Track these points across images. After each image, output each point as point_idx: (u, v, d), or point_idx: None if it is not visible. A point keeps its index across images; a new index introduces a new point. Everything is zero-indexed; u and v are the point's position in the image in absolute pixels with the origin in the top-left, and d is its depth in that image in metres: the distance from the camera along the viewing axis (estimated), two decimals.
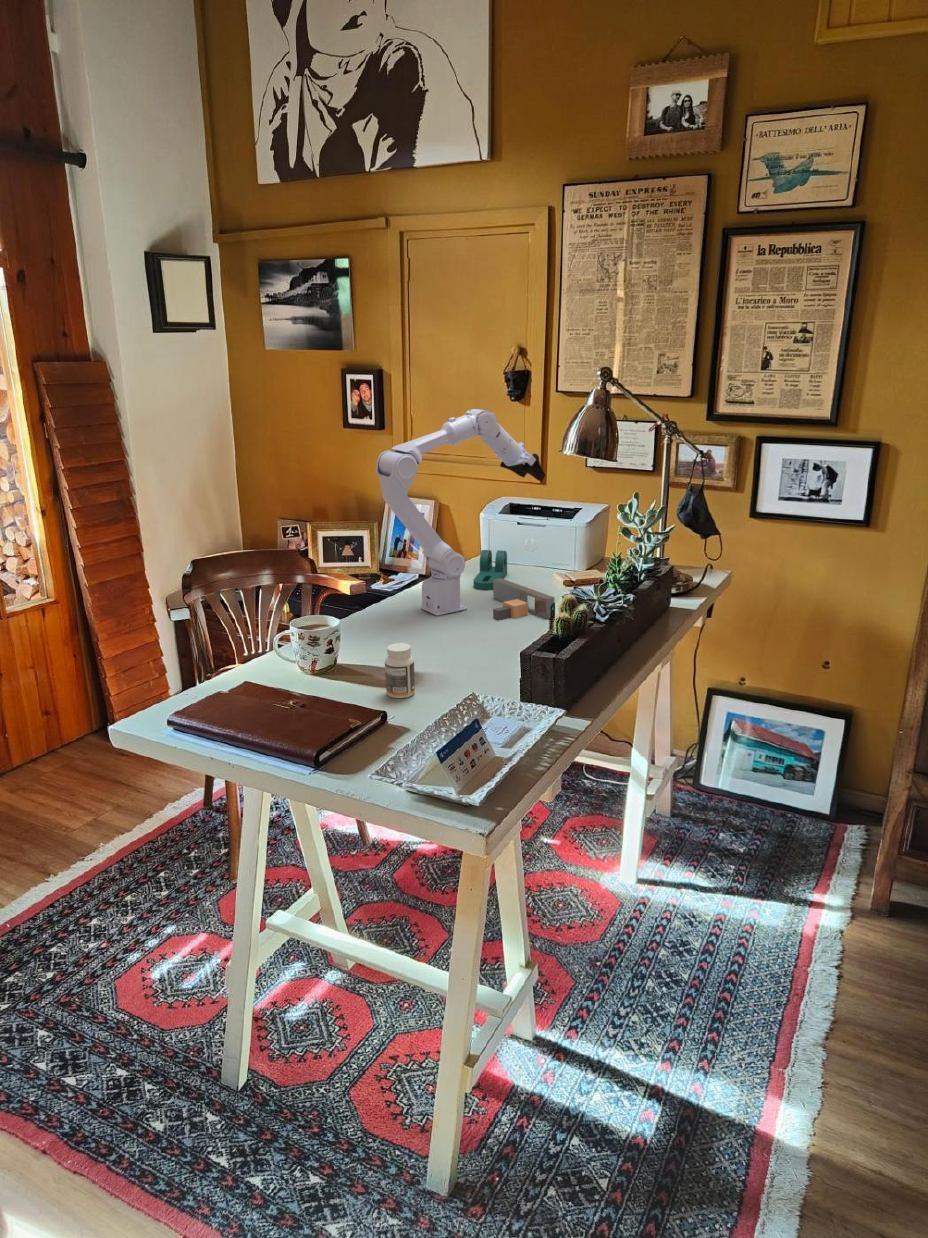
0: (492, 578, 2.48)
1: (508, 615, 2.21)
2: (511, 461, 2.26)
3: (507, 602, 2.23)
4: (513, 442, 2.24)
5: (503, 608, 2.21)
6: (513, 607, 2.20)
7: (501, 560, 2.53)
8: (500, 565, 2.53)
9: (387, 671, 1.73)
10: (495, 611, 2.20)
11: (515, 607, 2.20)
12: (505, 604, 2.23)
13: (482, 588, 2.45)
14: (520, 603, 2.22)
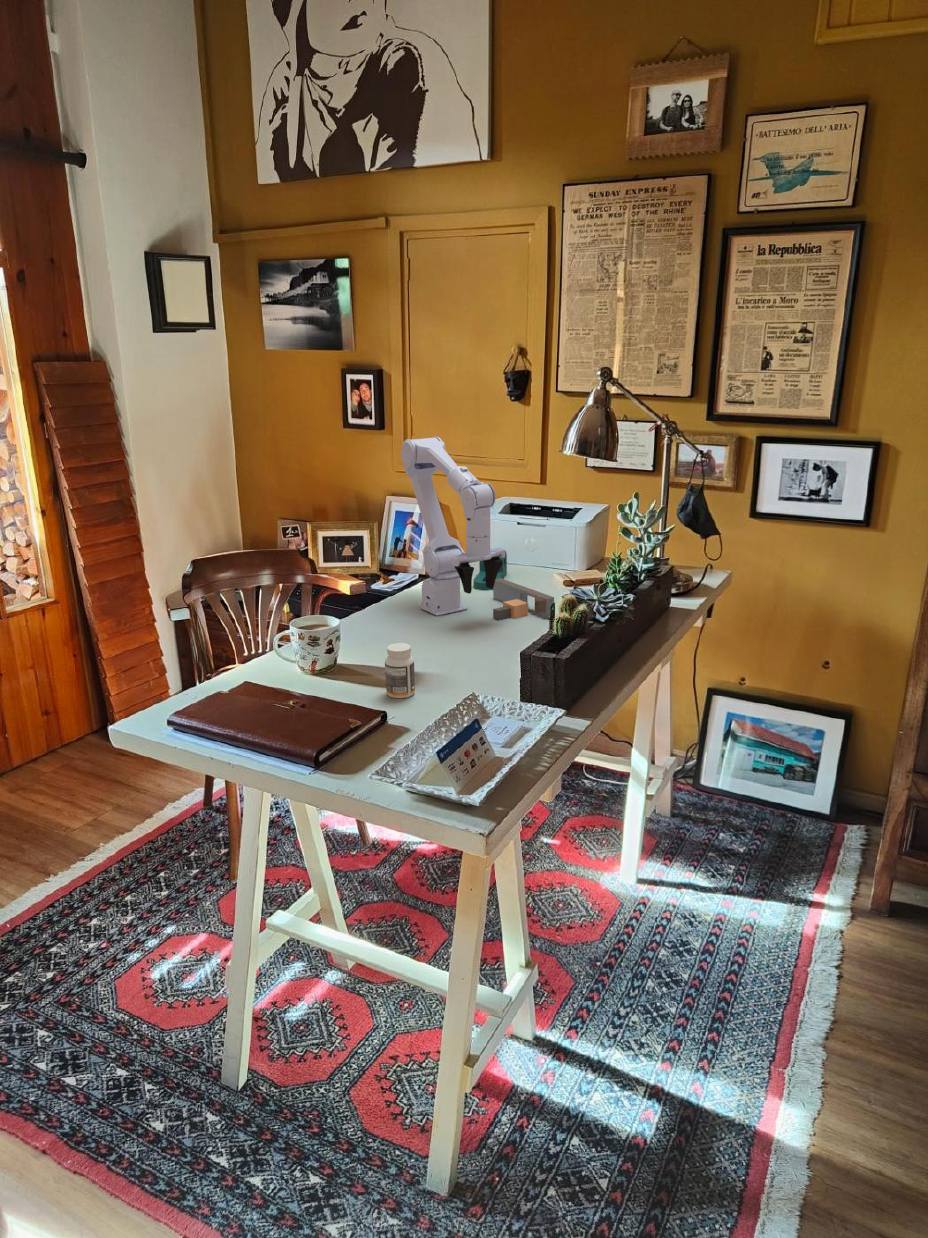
0: None
1: (508, 615, 2.21)
2: None
3: (507, 602, 2.23)
4: (474, 541, 2.09)
5: (503, 608, 2.21)
6: (513, 607, 2.20)
7: None
8: None
9: (387, 671, 1.73)
10: (495, 611, 2.20)
11: (515, 607, 2.20)
12: (505, 604, 2.23)
13: (482, 588, 2.45)
14: (520, 603, 2.22)
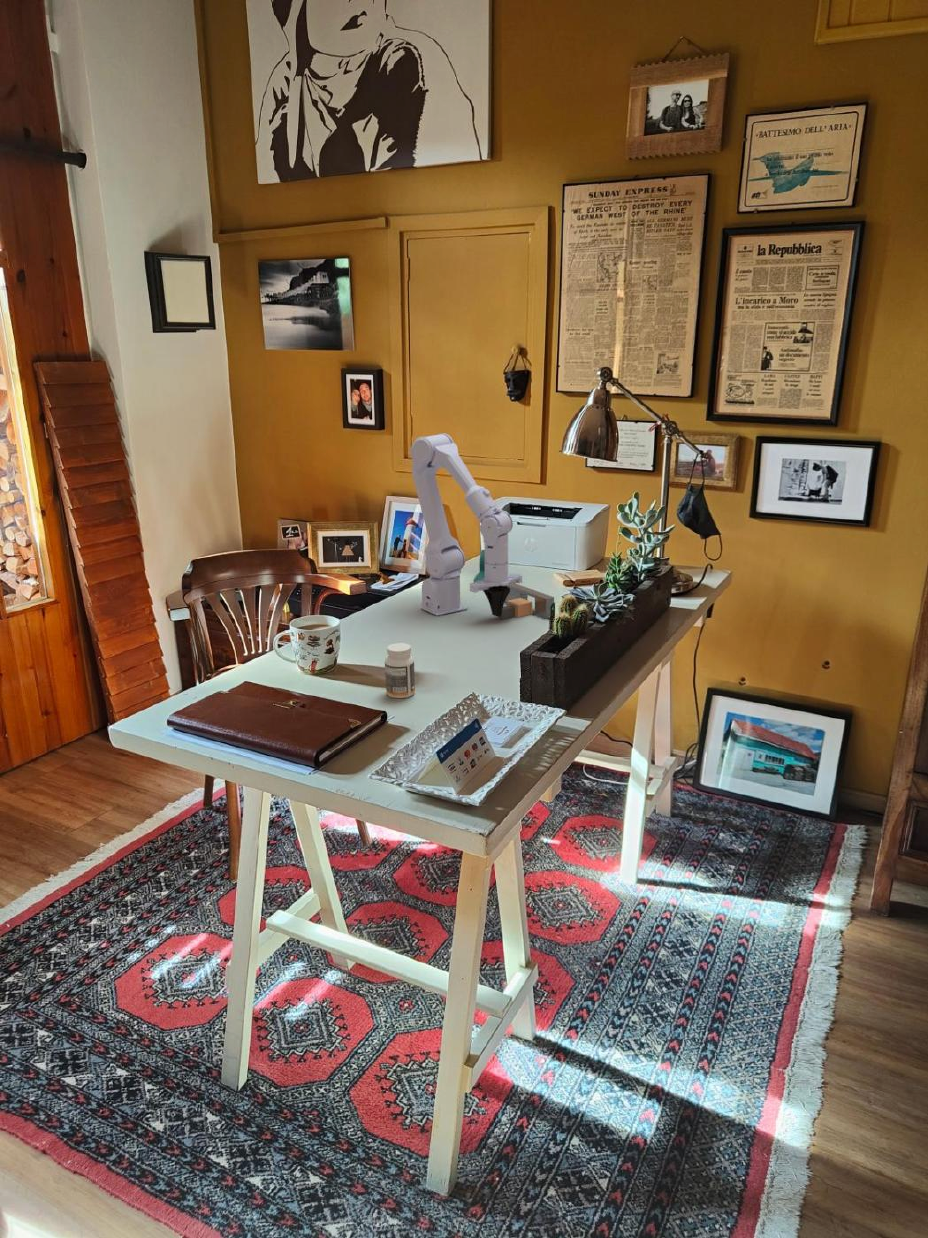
0: None
1: (512, 614, 2.22)
2: None
3: (511, 601, 2.23)
4: (492, 568, 2.14)
5: (507, 607, 2.22)
6: (517, 606, 2.21)
7: None
8: None
9: (387, 671, 1.73)
10: None
11: (519, 606, 2.21)
12: (509, 603, 2.23)
13: None
14: (524, 602, 2.23)
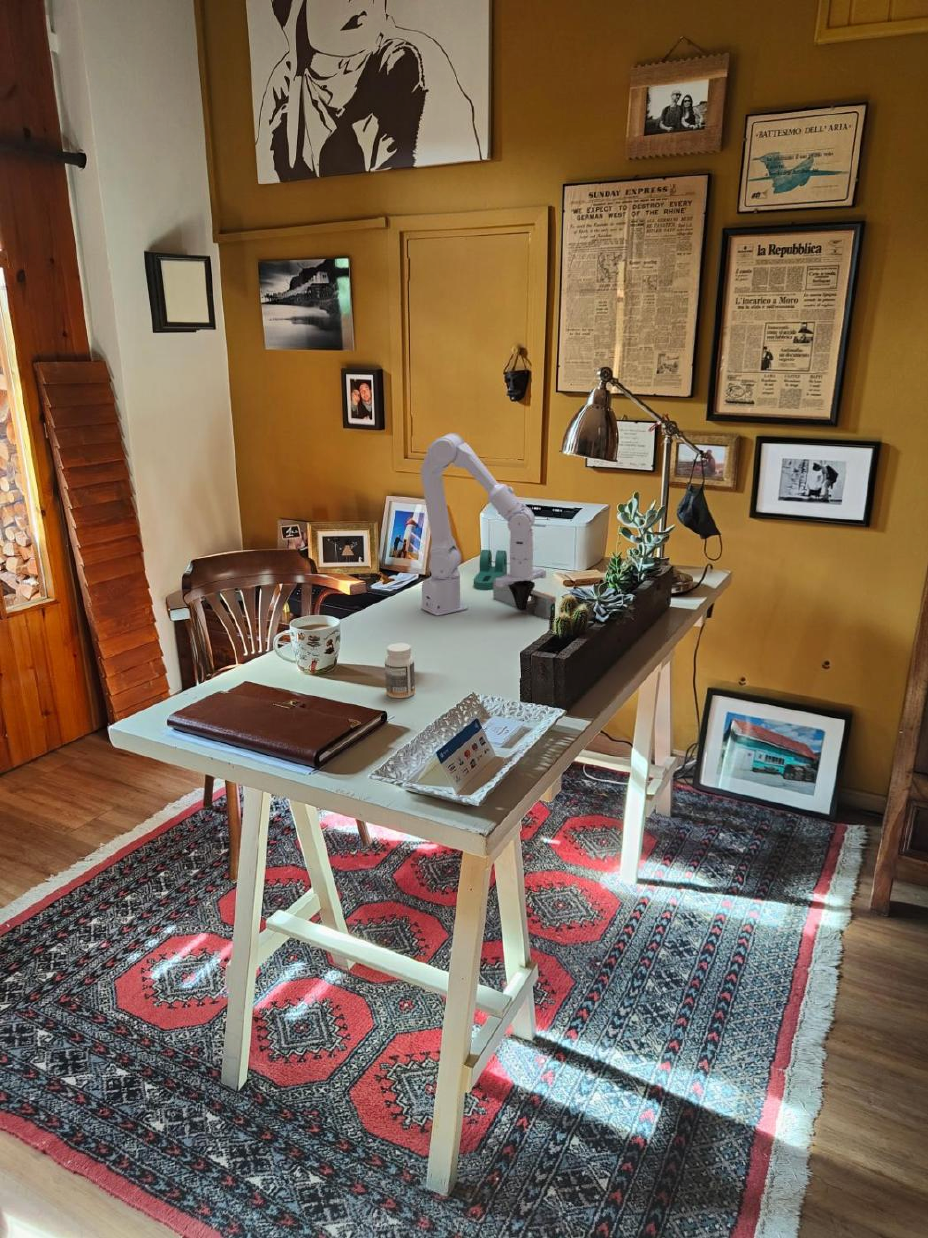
0: (492, 578, 2.49)
1: None
2: None
3: None
4: (517, 563, 2.18)
5: (531, 601, 2.26)
6: None
7: (501, 560, 2.53)
8: (500, 565, 2.53)
9: (387, 671, 1.73)
10: None
11: None
12: (533, 598, 2.27)
13: (482, 588, 2.45)
14: None
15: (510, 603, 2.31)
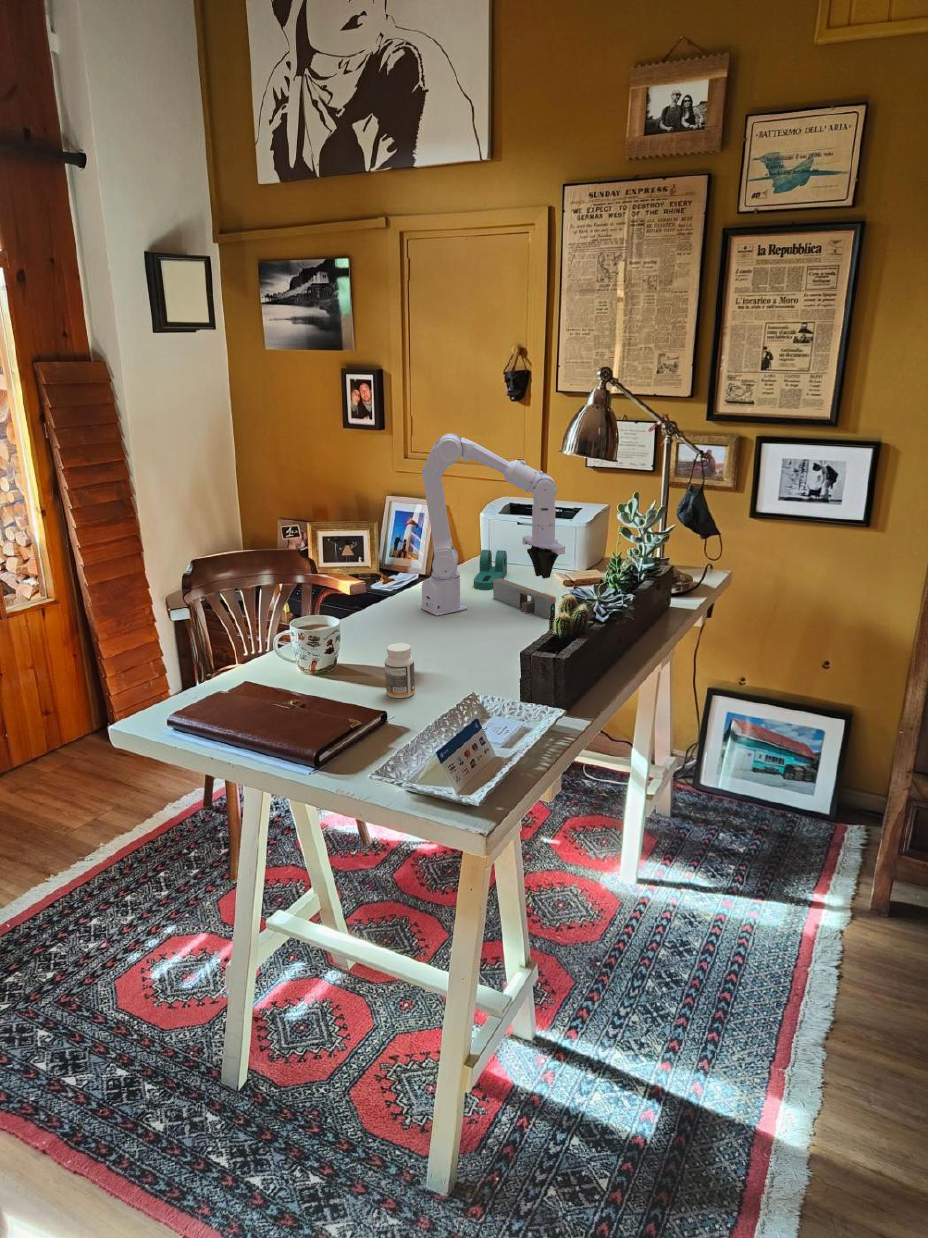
0: (492, 578, 2.49)
1: None
2: (541, 542, 2.20)
3: None
4: (554, 528, 2.21)
5: (531, 601, 2.26)
6: None
7: (501, 560, 2.53)
8: (500, 565, 2.53)
9: (387, 671, 1.73)
10: (524, 604, 2.25)
11: None
12: (533, 598, 2.28)
13: (482, 588, 2.45)
14: None
15: (510, 603, 2.31)
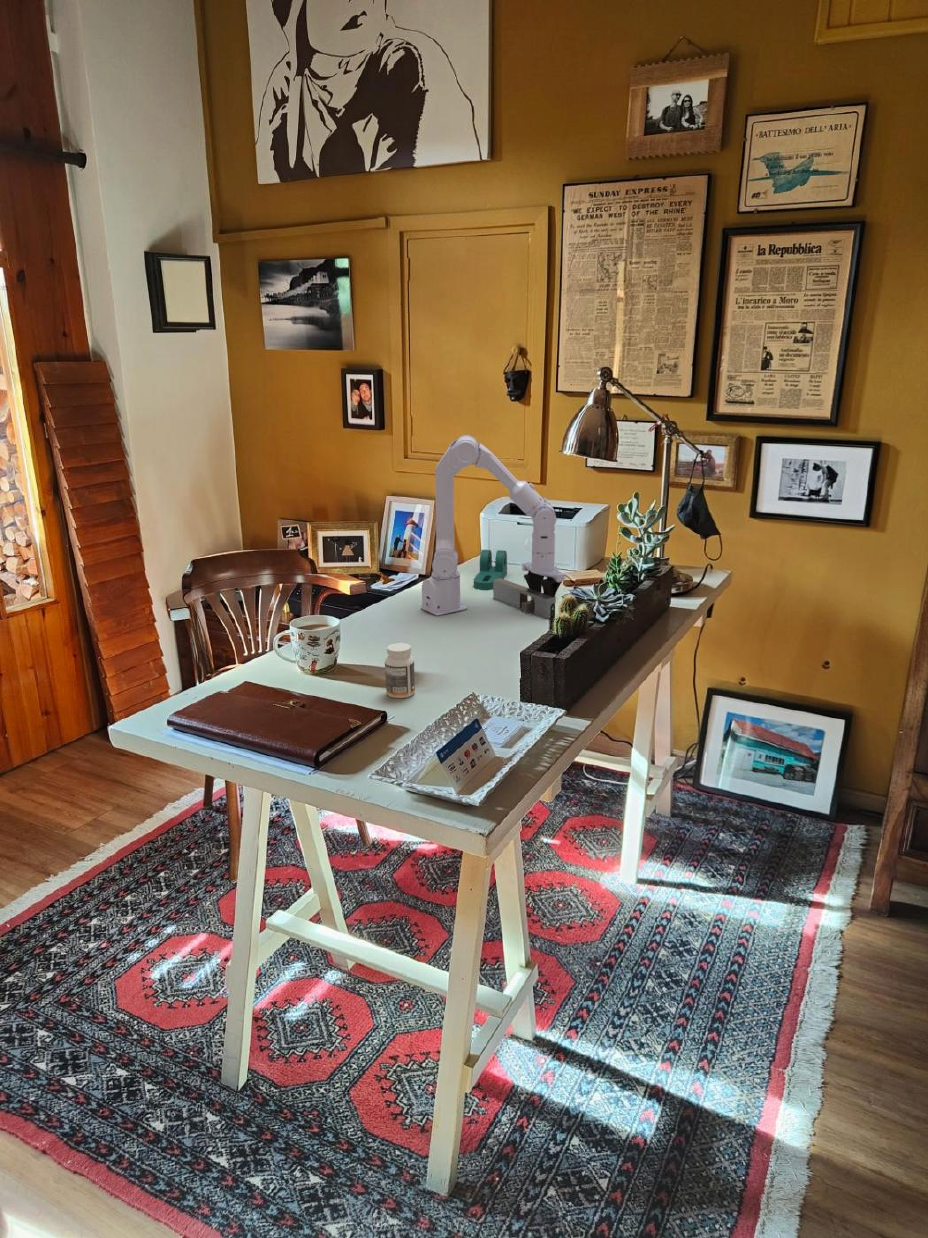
0: (492, 578, 2.49)
1: None
2: (541, 569, 2.22)
3: None
4: (553, 556, 2.23)
5: (531, 601, 2.26)
6: None
7: (501, 560, 2.53)
8: (500, 565, 2.53)
9: (387, 671, 1.73)
10: (524, 604, 2.25)
11: None
12: (533, 598, 2.27)
13: (482, 588, 2.45)
14: None
15: (510, 603, 2.31)
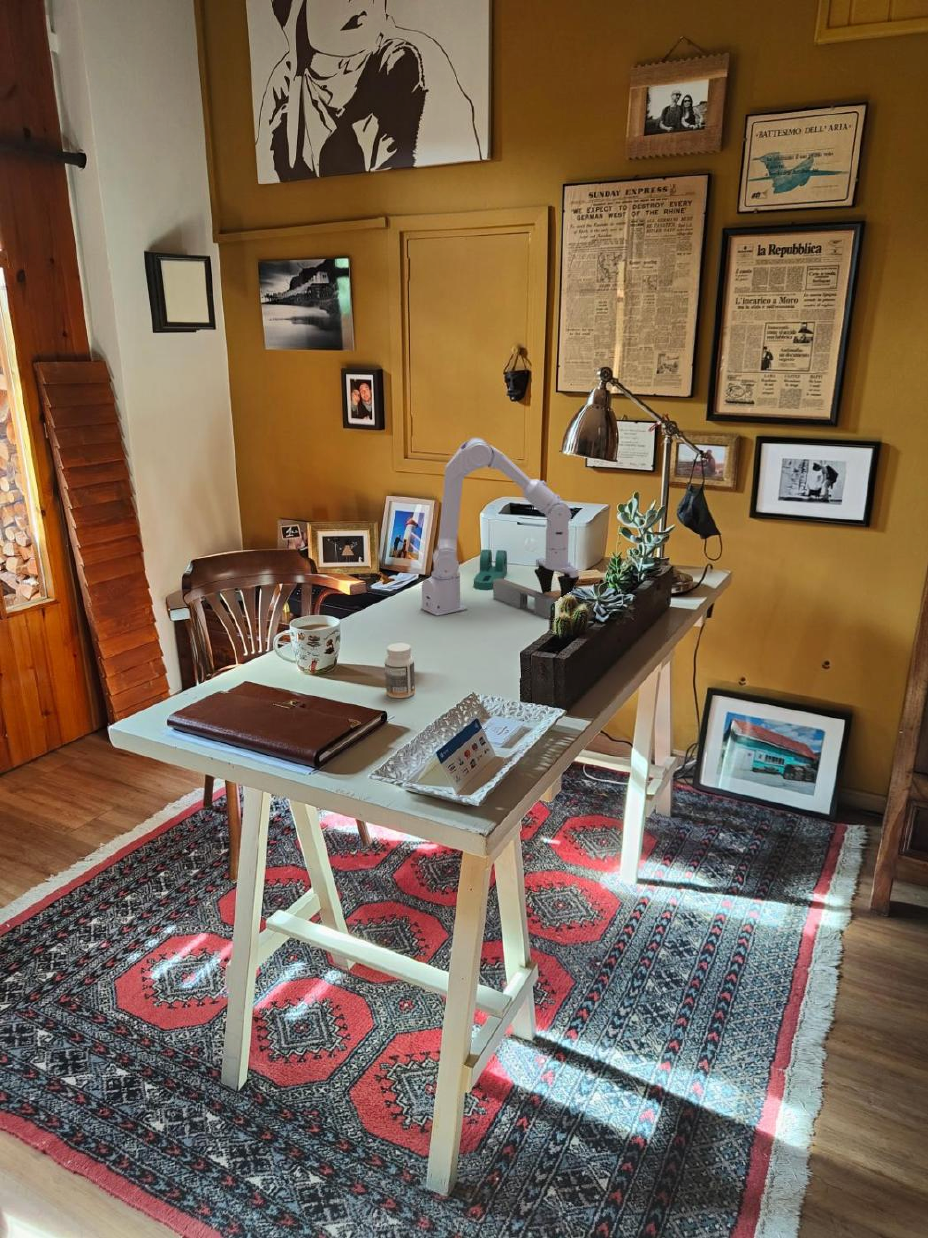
0: (492, 578, 2.49)
1: None
2: (554, 565, 2.25)
3: (548, 593, 2.30)
4: (567, 551, 2.25)
5: None
6: (555, 597, 2.27)
7: (501, 560, 2.53)
8: (500, 564, 2.53)
9: (387, 671, 1.73)
10: None
11: (557, 597, 2.27)
12: None
13: (482, 588, 2.45)
14: None
15: (510, 603, 2.31)
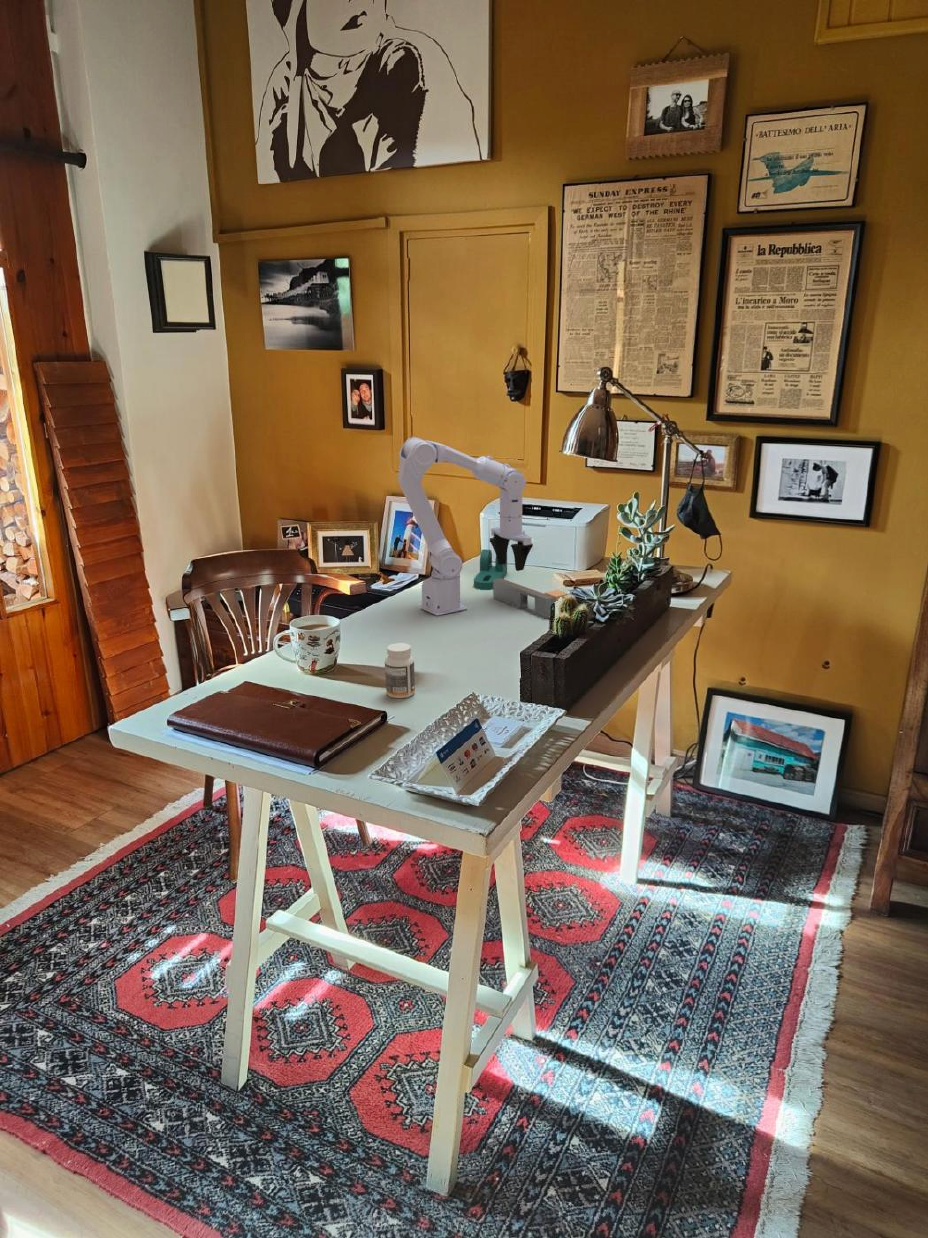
0: (492, 578, 2.49)
1: None
2: (508, 533, 2.26)
3: (548, 593, 2.30)
4: (521, 520, 2.26)
5: None
6: (555, 597, 2.27)
7: None
8: None
9: (387, 671, 1.73)
10: None
11: (557, 597, 2.27)
12: None
13: (482, 587, 2.45)
14: (561, 594, 2.29)
15: (510, 603, 2.31)
